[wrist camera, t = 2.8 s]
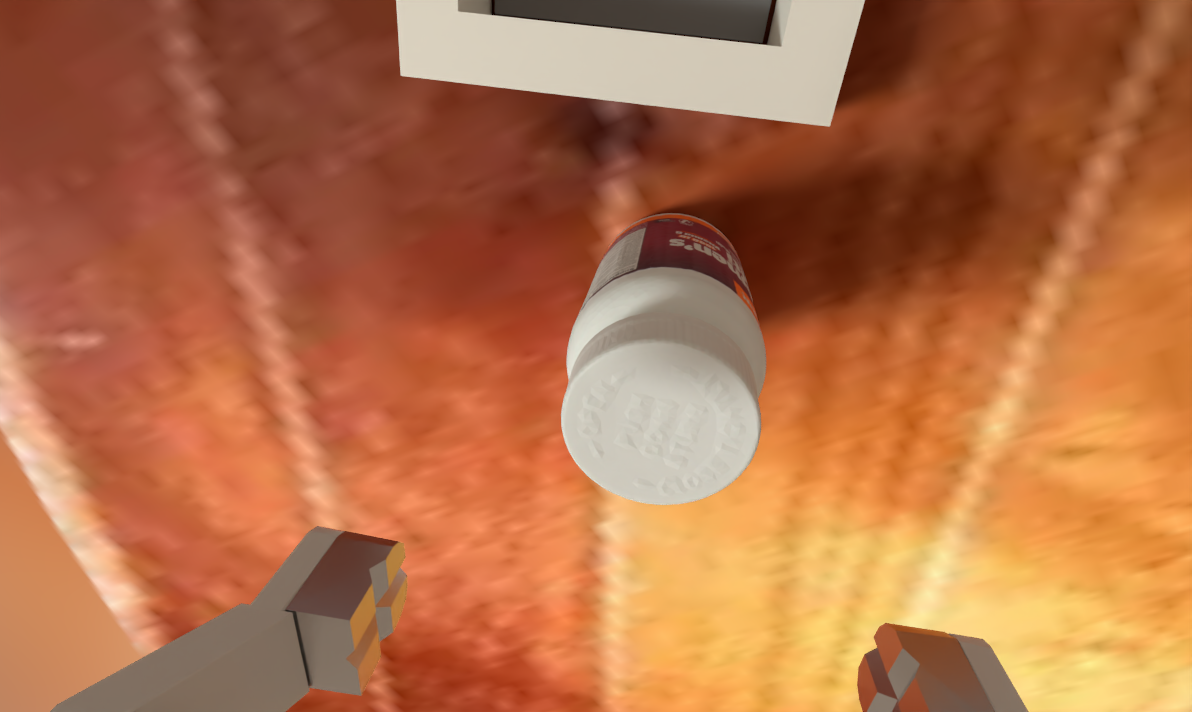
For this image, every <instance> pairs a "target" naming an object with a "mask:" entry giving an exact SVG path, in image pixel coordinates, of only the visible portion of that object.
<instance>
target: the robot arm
mask: <svg viewBox="0 0 1192 712" xmlns="http://www.w3.org/2000/svg"><path fill="white" fill-rule="evenodd" d="M404 559H405V549H404V543H401V542H398V541H393V540H388V539H383V538H377V537H372V536H367V535H362V534H357V533H352V532H347V531H341V530H335V529H330V528H324V527H319V526H317V527H316V528H314V529H312V530H311V531H309V532H308V533H307V534H306V535H305V537H304V538H303V539H302V540H301V542H300V543H299V544H298V545H297V547H296V548H295V549H294V550H293V552H292V553H291V554H290V555H289V557H288V558H287V559H286V561H285V562H284V563H283V564H282V566H281V567H280V568H279V569H278V571H277V572H276V573H275V574H274V576H273V577H272V578H271V579H270V581H269V582H268V583H267V584H266V586H265V587H264V588H263V589H262V591H261V592H260V593H259V594H258V596H257V597H256V598H255V599H254V601H253V602H252V603H251V604H250V605H249V604H242V603H241V604H239V605H238V606H236V607H234V608H232V609H230V610H229V611H227V612H225V613H223V614H221V615H219V616H218V617H216V618H214V619H212V620H210V621H209V622H207V623H205V624H203V625H201V626H199V627H198V628H196V629H194V630H192V631H190V632H188V633H187V634H185V635H183V636H181V637H179V638H178V639H176V640H174V641H172V642H170V643H168V644H167V645H165V646H163V647H161V648H159V649H158V650H156V651H154V652H152V653H150V654H148V655H147V656H145V657H143V658H141V659H139V660H138V661H136V662H134V663H132V664H130V665H128V666H127V667H125V668H123V669H121V670H119V671H118V672H116V673H114V674H112V675H110V676H108V677H107V678H105V679H103V680H101V681H99V682H97V683H96V684H94V685H92V686H90V687H88V688H87V689H85V690H83V691H81V692H79V693H77V694H76V695H74V696H72V697H70V698H68V699H67V700H65V701H63V702H61V703H59V704H57V705H56V706H55V707H54V708H53V709H52V710H51V712H285V711H286V710H288V709H289V708H290V707H291V706H292V705H294V704H295V703H296V702H297V701H298V700H300V699H301V698H302V697H303V696H304V695H306V694H307V693H308V692H309V688H315V689H321V690H328V691H334V692H341V693H348V694H354V695H362V693H363V691H364V689H365V687H366V685H367V683H368V681H369V679H370V677H371V675H372V673H373V671H374V669H375V667H376V665H377V663H378V661H379V659H380V657H381V653H380V643H379V641H381V640H382V639H384V638H385V637H387V636H388V635H389V634H391V633H392V632H393V631H394V629H395V627H396V625H397V623H398V620H399V618H400V616H401V613H402V610H403V606H404V603H405V600H406V594H407V575H406V574H405V573H404V572H403V570H402V569H401V568H400V566H401V565H402V563H403V561H404ZM874 639H875V642H876V645H877V647H878V648H876V649H874V650H872V651H870V652H868V653H866V654H865V655H864V657H863V659H862V661H861V664H860V666H859V670H858V683H857V686H858V693H859V700H860V703H861V707H862V710H863V712H1028V710H1027V708H1026V707H1025V705H1024V703H1023V702H1022V700H1021V698H1020V696H1019V695H1018V693H1017V691H1016V689H1015V688H1014V686H1013V684H1012V682H1011V681H1010V679H1009V677H1008V676H1007V674H1006V672H1005V670H1004V669H1003V667H1002V665H1001V663H1000V662H999V660H998V658H997V656H996V655H995V653H994V651H993V650H992V648H991V647H990V645H989V644H987V643H986V642H985V641H984V640H983V639H979V638H973V637H967V636H961V635H955V634H947V633H945V632H940V631H934V630H927V629H921V628H914V627H908V626H902V625H895V624H889V623H885V624H884V625H882V626H880V627H879V628H878V630H877V632H876V634H875V636H874Z"/></svg>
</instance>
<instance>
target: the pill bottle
mask: <svg viewBox="0 0 1192 712" xmlns="http://www.w3.org/2000/svg"><path fill="white" fill-rule="evenodd" d="M567 372H568V378H569V383H568V387H567V390H566V393H565V396H564V400H563V405H562V412H561V425H562V432H563V436H564V440H565V443H566V445H567V448H568V450H569V452H570V454H571V456H572V457H573V459H574V461H575V462H576V464H577V465H578V466H579V467H580V468H581V469H582V470H583V472H584V473H585V474H586V475H587V476H588V477H590V478H591V479H592V480H593V481H595V482H596V483H597V484H599V485H600V486H601V487H603V488H605V489H606V490H608V491H610V492H612V493H614V494H616V495H619V496H621V497H624V498H626V499H629V500H633V501H637V502H641V503H647V504H656V505H671V504H682V503H688V502H693V501H697V500H700V499H703V498H706V497H708V496H710V495H713V494H715V493H717V492H718V491H720V490H722V489H724V488H725V487H727V486H728V485H730V484H731V483H732V482H733V481H734V480H736V479H737V478H738V477H739V476H740V475H741V474H742V472H743V471H744V470H745V469H746V468H747V466H748V465H749V464H750V462H751V460H752V458H753V456H754V454H755V452H756V449H757V446H758V443H759V439H760V433H761V413H760V408H759V403H758V397H759V395H760V393H761V390H762V387H763V383H764V379H765V373H766V351H765V345H764V341H763V336H762V333H761V328H760V324H759V321H758V317H757V313H756V310H755V307H754V304H753V300H752V296H751V293H750V290H749V287H748V284H747V280H746V277H745V274H744V271H743V268H742V265H741V262H740V260H739V257H738V255H737V253H736V251H735V249H734V247H733V245H732V244H731V243H730V241H729V240H728V239H727V238H726V236H725V235H724V234H722V233H721V232H720V231H719V230H718V229H717V228H715V227H714V226H713V225H711V224H710V223H708V222H706V221H704V220H702V219H700V218H697V217H694V216H690V215H686V214H680V213H664V214H657V215H653V216H649V217H646V218H643V219H641V220H639V221H637V222H635V223H633V224H632V225H630V226H629V227H627V228H626V229H625V230H623V231H622V232H621V233H620V234H619V235H618V236H617V237H616V238H615V239H614V240H613V242H612V243H611V244H610V246H609V247H608V249H607V251H606V252H605V254H604V256H603V258H602V260H601V262H600V264H599V267H598V270H597V272H596V275H595V277H594V279H593V282H592V284H591V287H590V289H589V292H588V294H587V296H586V299H585V301H584V303H583V306H582V308H581V310H580V313H579V315H578V317H577V319H576V321H575V324H574V326H573V329H572V332H571V336H570V339H569V344H568V350H567Z"/></svg>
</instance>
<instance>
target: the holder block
mask: <svg viewBox="0 0 1192 712" xmlns="http://www.w3.org/2000/svg"><path fill="white" fill-rule="evenodd" d="M771 1H772V0H495V14H498V15H507V16H516V17H525V18H535V19H544V20H553V21H562V22H571V23H581V24H590V25H599V26H608V27H617V28H626V29H636V30H645V31H654V32H663V33H672V34H681V35H691V36H700V37H709V38H718V39H727V40H737V41H746V42H755V43H763V38H764V34H765V29H766V24H767V19H768V15H769V10H770V5H771ZM864 2H865V0H776V5H775V10H774V14H773V19H772V24H771V28H770V33H769V37H768V42H767V45H761V44H752V43H743V42H733V41H724V40H715V39H706V38H697V37H688V36H678V35H669V34H660V33H651V32H642V31H633V30H623V29H614V28H605V27H596V26H587V25H578V24H568V23H559V22H550V21H541V20H532V19H523V18H513V17H504V16H495V15H492V0H396V5H397V21H398V38H399V54H400V71H401V76H408V77H416V78H424V79H433V80H441V81H450V82H458V83H467V84H475V85H483V86H492V87H500V88H509V89H517V90H525V91H534V92H542V93H551V94H559V95H568V96H576V97H584V98H593V99H601V100H610V101H618V102H627V103H635V104H643V105H652V106H660V107H669V108H677V109H686V110H694V111H702V112H711V113H719V114H728V115H736V116H745V117H753V118H761V119H770V120H778V121H787V122H795V123H804V124H812V125H820V126H829V127H830V124H831V120H832V117H833V113H834V110H835V106H836V102H837V99H838V95H839V92H840V88H841V84H842V81H843V77H844V74H845V70H846V67H847V63H848V59H849V56H850V52H851V49H852V45H853V42H854V38H855V34H856V31H857V27H858V24H859V20H860V16H861V13H862V9H863V6H864Z"/></svg>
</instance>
